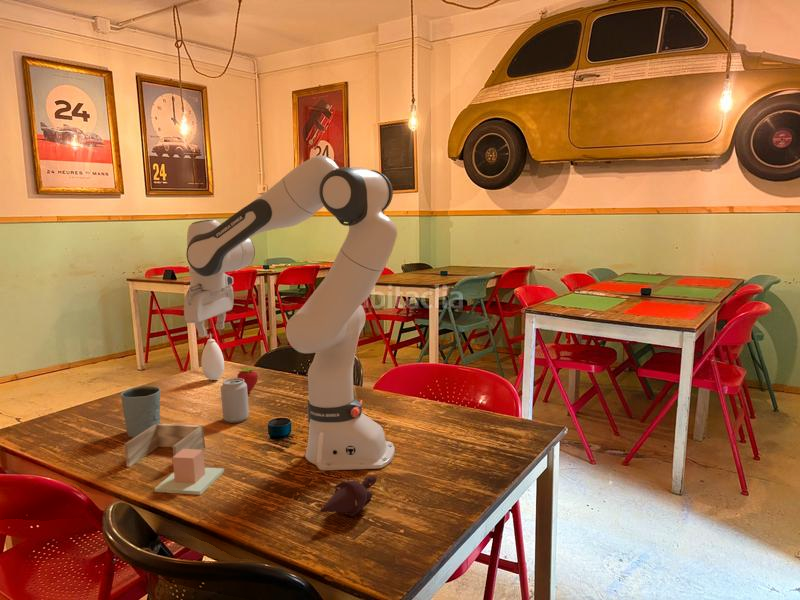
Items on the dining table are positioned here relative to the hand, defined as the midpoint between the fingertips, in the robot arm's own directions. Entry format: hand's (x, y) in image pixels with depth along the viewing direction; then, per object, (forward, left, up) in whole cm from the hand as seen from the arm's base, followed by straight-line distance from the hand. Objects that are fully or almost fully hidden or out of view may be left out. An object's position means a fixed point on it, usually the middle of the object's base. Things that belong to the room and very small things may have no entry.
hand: (211, 332), depth 150 cm
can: (+1, -12, -29) cm, 32 cm away
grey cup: (+23, 0, -29) cm, 37 cm away
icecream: (-46, +34, -29) cm, 65 cm away
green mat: (-6, +26, -29) cm, 39 cm away
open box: (+7, +14, -29) cm, 33 cm away
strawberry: (+8, -36, -29) cm, 47 cm away
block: (-6, +26, -28) cm, 39 cm away
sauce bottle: (+27, -48, -29) cm, 62 cm away
